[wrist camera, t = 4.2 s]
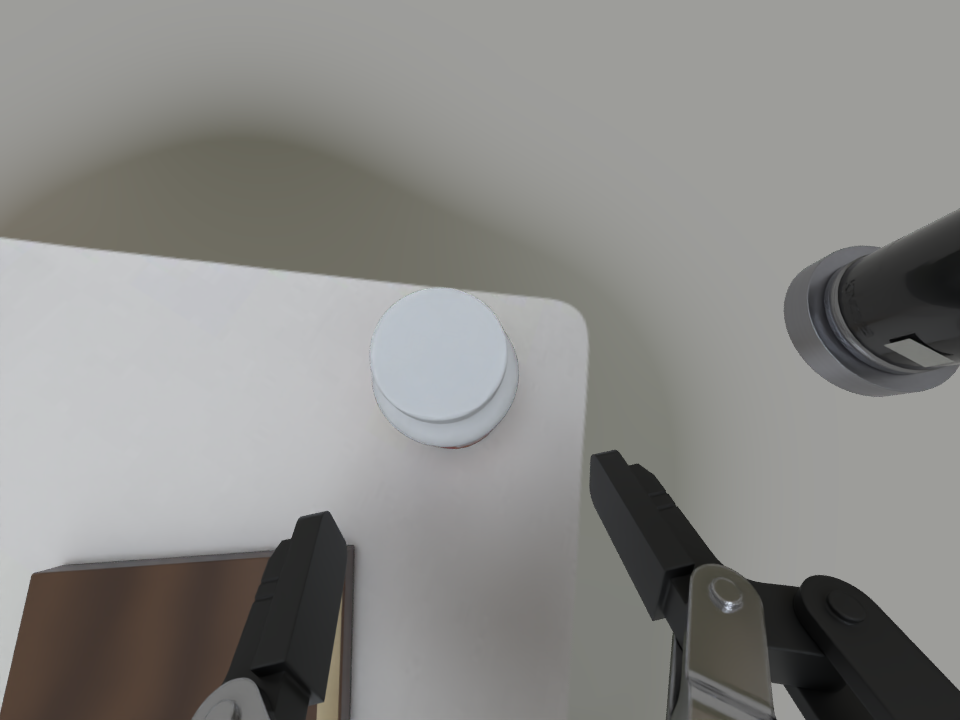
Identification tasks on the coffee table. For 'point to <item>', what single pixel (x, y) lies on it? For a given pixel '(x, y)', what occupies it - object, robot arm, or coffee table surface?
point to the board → (147, 639)
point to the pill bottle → (443, 368)
